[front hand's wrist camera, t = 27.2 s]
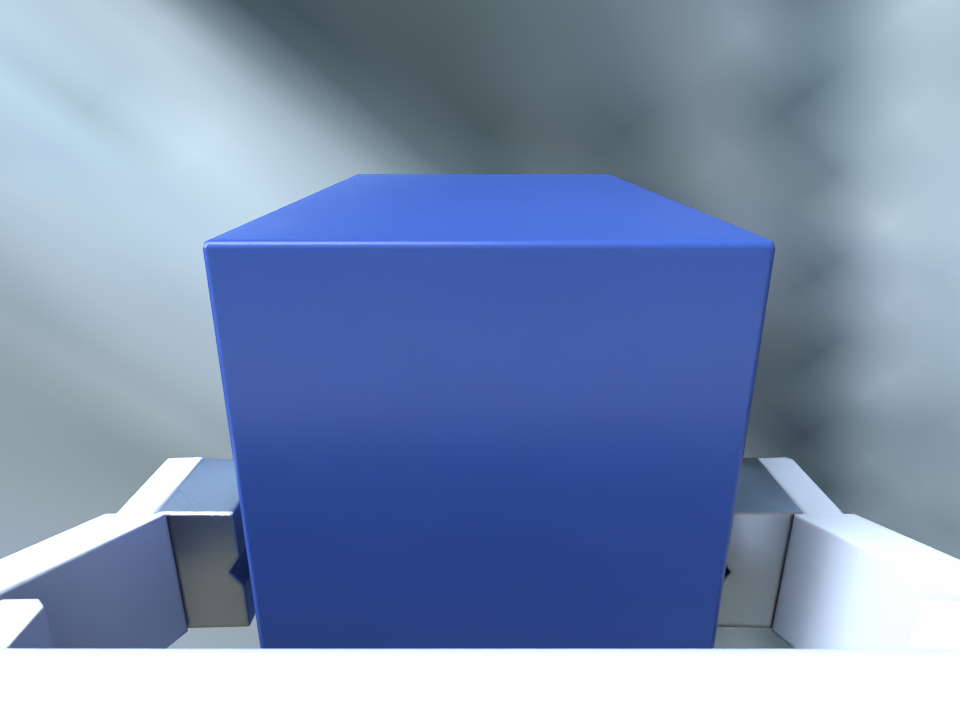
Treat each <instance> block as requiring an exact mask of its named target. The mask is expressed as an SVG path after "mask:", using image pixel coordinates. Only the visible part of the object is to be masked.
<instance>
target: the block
mask: <svg viewBox="0 0 960 720" xmlns="http://www.w3.org/2000/svg"><path fill="white" fill-rule="evenodd" d="M203 253H204V259H205V266H206V273H207V280H208V287H209V294H210V301H211V308H212V315H213V322H214V329H215V336H216V343H217V349H218V356H219V363H220V370H221V377H222V384H223V391H224V398H225V405H226V412H227V419H228V426H229V433H230V439H231V446H232V453H233V460H234V467H235V474H236V481H237V488H238V495H239V502H240V509H241V516H242V523H243V529H244V536H245V543H246V550H247V557H248V564H249V571H250V578H251V585H252V592H253V599H254V606H255V613H256V619H257V626H258V633H259V640H260V647H261V649H713V648H714V642H715V635H716V629H717V622H718V616H719V609H720V603H721V596H722V590H723V583H724V577H725V570H726V564H727V557H728V551H729V544H730V538H731V531H732V525H733V518H734V512H735V506H736V499H737V493H738V486H739V480H740V473H741V467H742V460H743V454H744V447H745V441H746V434H747V428H748V421H749V415H750V408H751V402H752V395H753V389H754V382H755V376H756V369H757V363H758V356H759V350H760V343H761V337H762V330H763V324H764V317H765V311H766V304H767V298H768V291H769V285H770V278H771V272H772V266H773V259H774V253H775V246H774V242H773V241H770V240H768V239H766V238H763V237H761V236H758V235H756V234H754V233H751V232H749V231H746V230H744V229H741V228H739V227H736V226H734V225H732V224H729V223H727V222H724V221H722V220H719V219H717V218H714V217H712V216H710V215H707V214H705V213H702V212H700V211H697V210H695V209H692V208H690V207H687V206H685V205H683V204H680V203H678V202H675V201H673V200H670V199H668V198H665V197H663V196H661V195H658V194H656V193H653V192H651V191H648V190H646V189H643V188H641V187H639V186H636V185H634V184H631V183H629V182H626V181H624V180H621V179H619V178H617V177H614V176H612V175H609V174H358V175H355V176H353V177H351V178H348V179H346V180H344V181H342V182H339V183H337V184H335V185H333V186H330V187H328V188H326V189H324V190H321V191H319V192H317V193H314V194H312V195H310V196H308V197H305V198H303V199H301V200H299V201H296V202H294V203H292V204H289V205H287V206H285V207H283V208H280V209H278V210H276V211H274V212H271V213H269V214H267V215H264V216H262V217H260V218H258V219H255V220H253V221H251V222H249V223H246V224H244V225H242V226H240V227H237V228H235V229H233V230H230V231H228V232H226V233H224V234H221V235H219V236H217V237H215V238H212V239H210V240H208V241H205V242H204V246H203Z"/></svg>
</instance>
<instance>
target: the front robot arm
mask: <svg viewBox="0 0 960 720" xmlns="http://www.w3.org/2000/svg"><path fill="white" fill-rule="evenodd" d="M254 615H255V606H254V599H253V592H252V585H251V578H250V571H249V564H248V557H247V550H246V543H245V536H244V529H243V523H242V516H241V509H240V502H239V495H238V488H237V481H236V474H235V467H234V460H233V459H232V458H204V457H195V458H171V459H167V460H166V461H165V462H164V464H163V465H162V466H161V467H160V468H159V469H158V470H157V471H156V472H155V473H154V474H153V475H152V476H151V477H150V479H149V480H148V481H147V482H146V483H145V484H144V485H143V486H142V487H141V488H140V489H139V490H138V491H137V492H136V494H135V495H134V496H133V497H132V498H131V499H130V500H129V501H128V502H127V503H126V504H125V505H124V506H123V507H122V509H121V510H120V511H119V512H118V513H117V514H104V515H102V516H100V517H97V518H95V519H93V520H90V521H88V522H86V523H84V524H81V525H79V526H77V527H74V528H72V529H70V530H67V531H65V532H63V533H60V534H58V535H56V536H54V537H51V538H49V539H47V540H44V541H42V542H40V543H37V544H35V545H33V546H30V547H28V548H26V549H24V550H21V551H19V552H17V553H14V554H12V555H10V556H7V557H5V558H3V559H0V720H960V560H959V559H957V558H954V557H952V556H950V555H948V554H945V553H943V552H941V551H938V550H936V549H934V548H931V547H929V546H927V545H925V544H922V543H920V542H918V541H915V540H913V539H911V538H908V537H906V536H904V535H902V534H899V533H897V532H895V531H892V530H890V529H888V528H885V527H883V526H881V525H879V524H876V523H874V522H872V521H869V520H867V519H865V518H862V517H860V516H858V515H856V514H843V513H842V512H841V511H840V510H839V509H838V508H837V506H836V505H835V504H834V503H833V502H832V501H831V500H830V499H829V498H828V497H827V496H826V495H825V494H824V493H823V491H822V490H821V489H820V488H819V487H818V486H817V485H816V484H815V483H814V482H813V481H812V480H811V479H810V478H809V476H808V475H807V474H806V473H805V472H804V471H803V470H802V469H801V468H800V467H799V466H798V465H797V464H796V462H795V461H794V460H792V459H789V458H786V457H777V458H743V460H742V467H741V473H740V480H739V486H738V493H737V499H736V506H735V512H734V518H733V525H732V531H731V538H730V544H729V551H728V557H727V564H726V570H725V577H724V583H723V590H722V596H721V603H720V609H719V616H718V622H717V626H721V627H758V628H772V631H773V632H774V633H776V634H777V635H778V636H779V637H781V638H782V639H783V640H784V641H786V642H787V643H788V644H789V645H790V646H792V647H793V648H794V649H166V648H167V647H168V646H170V645H171V644H172V643H173V642H175V641H176V640H177V639H178V638H180V637H181V636H182V635H183V634H185V633H186V632H187V631H188V629H187V628H202V627H237V626H250V624H251V622H252V619H253V617H254Z"/></svg>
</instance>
